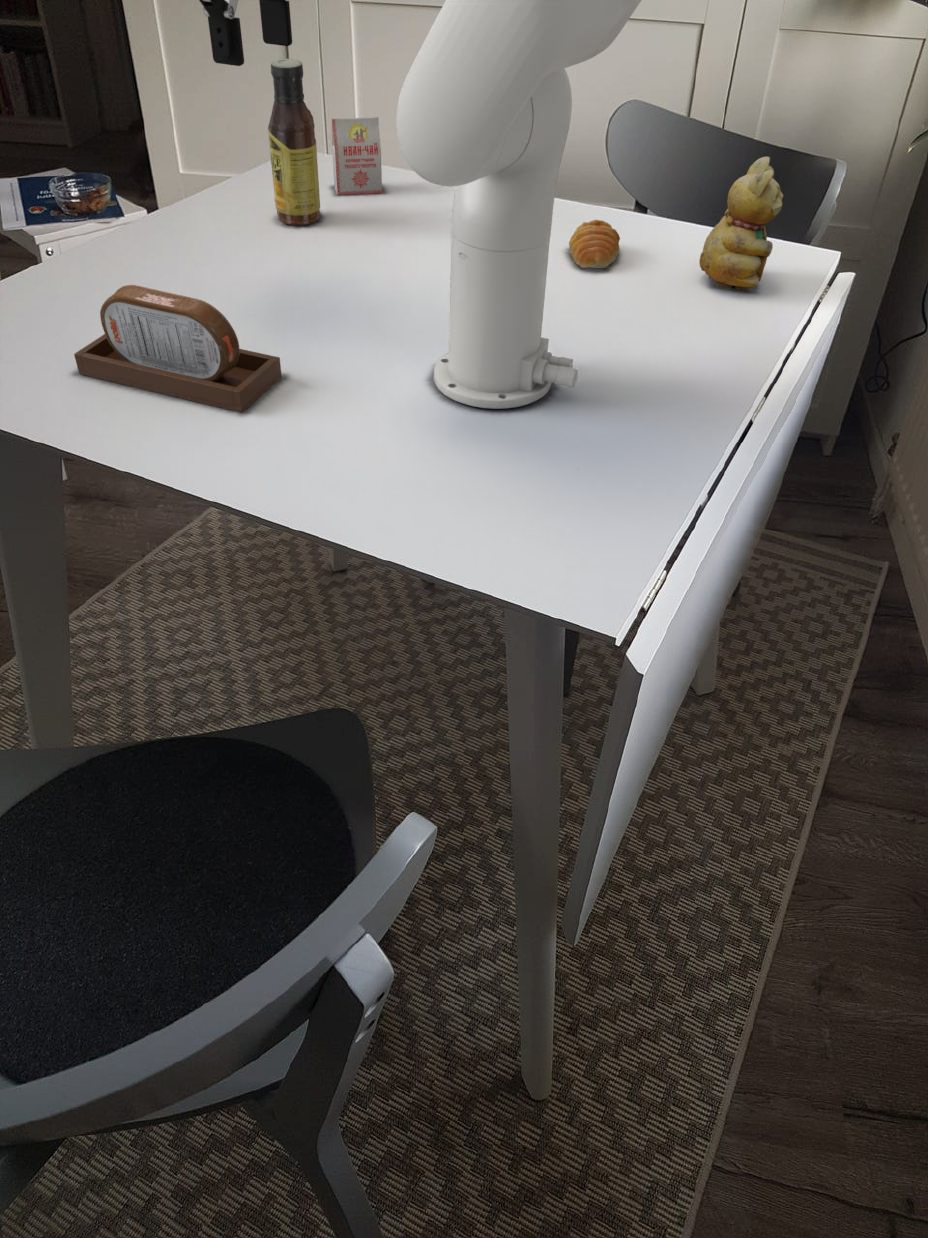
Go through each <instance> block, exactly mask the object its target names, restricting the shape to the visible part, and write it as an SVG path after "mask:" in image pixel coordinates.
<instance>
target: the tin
mask: <svg viewBox="0 0 928 1238" xmlns="http://www.w3.org/2000/svg"><path fill="white" fill-rule="evenodd" d="M99 316H100V323H101V326H102V329H103V332H104V334H105V335H106V337H107V340H108V342H109V343H110V345H111V346H112V348H113V349H114V350H115V351H116V352H117V353H118V354H119V355H120V356H121V357H122V358H123V359H124V360H126V361H127V362H129V363H133V364H137V365H141V366H146V367H150V368H154V369H159V370H163V371H167V372H172V373H176V374H180V375H185V376H189V377H193V378H198V379H202V380H206V381H211V382H214V381H217V380H218V379H220V378H221V377H222V376H224V375H225V374H226V373H227V372H228V371H230V370H231V369H233V368H234V366H235V365H236V363H237V361H238V358H239V349H240V343H239V340H238V336H237V334H236V331H235V329H234V328H233V326H232V324H231V322H230V321H229V320H228V318H226V316H225V315H224V314H223V313H222V312H221V311H220V310H219V309H217V308H216V307H215V306H214V305H213V304H211V303H209V302H206V301H204V300H202V299H199V298H195V297H190V296H186V295H181V294H176V293H172V292H169V291H168V292H167V291H163V290H158V289H154V288H149V287H146V286H141V285H138V284H137V285H136V284H127V285H123V286H121V287H119V288H117V290H116V291H115V292H114V293H113V294H112V295H110V296H109V297H108V298H106V300H105V301H104V302H103V304H102V306H101V308H100V311H99Z"/></svg>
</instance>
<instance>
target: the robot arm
mask: <svg viewBox="0 0 928 1238" xmlns="http://www.w3.org/2000/svg"><path fill="white" fill-rule="evenodd" d="M198 1H199V2H200V4H201V5H202V12H203V15H204V16H205V17H207V22H208V29H209V38H210V45H211V52H212V53H211V54H212V59H213V62H214V63H215V64H220V65H221V64H222V65H226V66H227V65H228V66H235V67H241V66H243V65H244V64H245V57H244V56H245V54H244V46H243V36H242V28H241V27H242V26H241V19H240V17H236V13H237V12H236V11H237V7H238V3H239V0H198ZM258 1H259V2H258V3H259V12H260V22H261V23H260V24H261V33H262V41H263V42H264V43H265V44H268V45H275V46H283V47H290V46H291V45H292V44H293V33H292V31H293V30H292V20H291V18H292V17H291V10H290V9H291V7H290V6H291V5H290V0H258ZM641 2H642V0H445V1H444V3H443V5H442V7H441V9H440V11H439V12H438V15H437V16H436V18H435V20H434V22H433V24H432V25H431V28H430V30H429V31H428V34H427V35H426V37H425V39H424V41H423V43H422V44H421V48H420V49H419V51H418V53H417V54H416V56H415V58H414V60H413V62H412V64H411V66H410V68H409V70H408V72H407V74H406V76H405V79H404V80H403V84H402V87H401V90H400V92H399V97H398V100H397V105H396V114H395V128H396V135H397V136H396V137H397V141H398V145H399V148H400V151H401V154H402V155H403V158H404V160H405V161H406V163H407V165H408V166H409V167H410V169H411V170H412V171H413V172H414V173H415V174H416V175H418V176H419V177H420V178H421V179H423V180H425V181H426V182H428V183H430V184H433V185H437V186H440V187H454V193H453V199H452V207H451V230H450V231H451V232H450V269H449V270H450V273H449V274H450V275H449V277H450V280H449V282H450V283H449V318H448V319H449V320H448V321H449V323H448V325H449V326H448V328H449V329H448V333H449V334H448V352H447V353H445V354H444V355H442V356H441V357H439V358H438V360H437V361H436V362H435V364H434V366H433V382H434V385H435V386H436V388H437V390H438V391H440V392H441V393H442V394H443V395H444V396H446V397H448V398H449V399H451V400H453V401H455V402H457V403H460V404H463V405H466V406H470V407H476V408H481V409H490V410H491V409H492V410H501V409H513V408H519V407H522V406H527V405H529V404H532V403H534V402H537V401H538V400H540V399H541V398H543V397H544V396H546V395H547V394H548V393H549V390H550V389H551V388H552V384H556V385H557V386H562V387H567V388H571V389H575V386H576V384H577V380H578V376H579V369H578V368H576V367H575V368H574V367H573V364H574V359H573V358H570V357H564V356H557V355H553V353H552V352H550V351H549V342H550V341H549V340H550V339H549V338H546V337H542V332H543V320H544V310H545V309H544V308H545V298H546V286H547V276H548V275H547V274H548V265H549V253H550V242H551V235H552V223H553V214H554V213H553V212H554V205H555V197H556V190H557V183H558V178H559V172H560V167H561V163H562V159H563V156H564V155H563V154H564V151H565V147H566V143H567V139H568V135H569V130H570V124H571V118H572V108H573V95H572V86H571V82H570V78H569V75H568V73H567V69H566V68H570V67H573V66H576V65H578V64H581V63H584V62H586V61H588V60H590V59H592V58H595V57H597V56H598V55H599V54H601V53H602V52H604V51H605V50H607V49H608V48H609V47H610V46H611V45H612V44H613V43H614V41H615V40H616V38H617V37H618V36H619V34H620V33H621V31H622V30H623V29H624V27H625V26H626V25H627V23H628V21H629V20H630V18H631V16H632V15H633V14H634V12H635V10H637V7H638V6H639V5H640V3H641Z"/></svg>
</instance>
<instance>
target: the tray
mask: <svg viewBox="0 0 928 1238" xmlns="http://www.w3.org/2000/svg"><path fill="white" fill-rule="evenodd" d="M73 356H74V359H75V363H76V367H77V371H78V374H79V375H82V376H85V377H89V378H90V377H91V378H93V379H94V378H95V379H97V380H98V379H99V380H103V381H105V382H106V381H107V382H111V383H115V384H119V385H123V386H128V387H132V388H137V389H140V390H144V391H148V392H152V393H153V392H154V393H156V394H157V393H159V394H162V395H166V396H171V397H174V398H178V399H183V400H188V401H191V402H195V403H199V404H204V405H208V406H212V407H217V408H221V409H224V410H229V411H232V412H233V411H234V412H237V413H244V412H245V411H246V410H247V409H248V408H249V407H250V406H251V405H253V404H254V403H255V402H256V401H257V400H258V399H259V398H261V396H263V395H264V394H265V393H266V392H267V391H269V389H271V388H272V387H273V386H274V385H275V384H277V383H278V381H279V380H281V379H282V377H283V376H282V366H281V365H282V364H281V358H280V357H279V356H275V355H270V354H265V353H260V352H257V351H253V350H247V349H244V348H239V358H238V361H237V363H236V365H235V366H234V368H233V369H231V370H230V371H228V372H227V373H226V374H225V375H224V376H222V377H221V378H220V379H218V380H217V381H214V382H211V381H206V380H202V379H198V378H193V377H189V376H185V375H180V374H176V373H172V372H167V371H163V370H159V369H154V368H150V367H146V366H141V365H137V364H133V363H129V362H127V361H126V360H124V359H123V358H122V357H121V356H120V355H119V354H118V353H117V352H116V351H115V350H114V349H113V348H112V346H111V345H110V343H109V342H108V340H107V337H106V335H105V333H104V334H102V335H101V336H99V337H97V338H96V339H95V340H93V341H91V342H90V343H88V344H87V345H85V346H84V347H83V348H81V349H79V350H78V351H76V352H75V353H74V355H73Z"/></svg>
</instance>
